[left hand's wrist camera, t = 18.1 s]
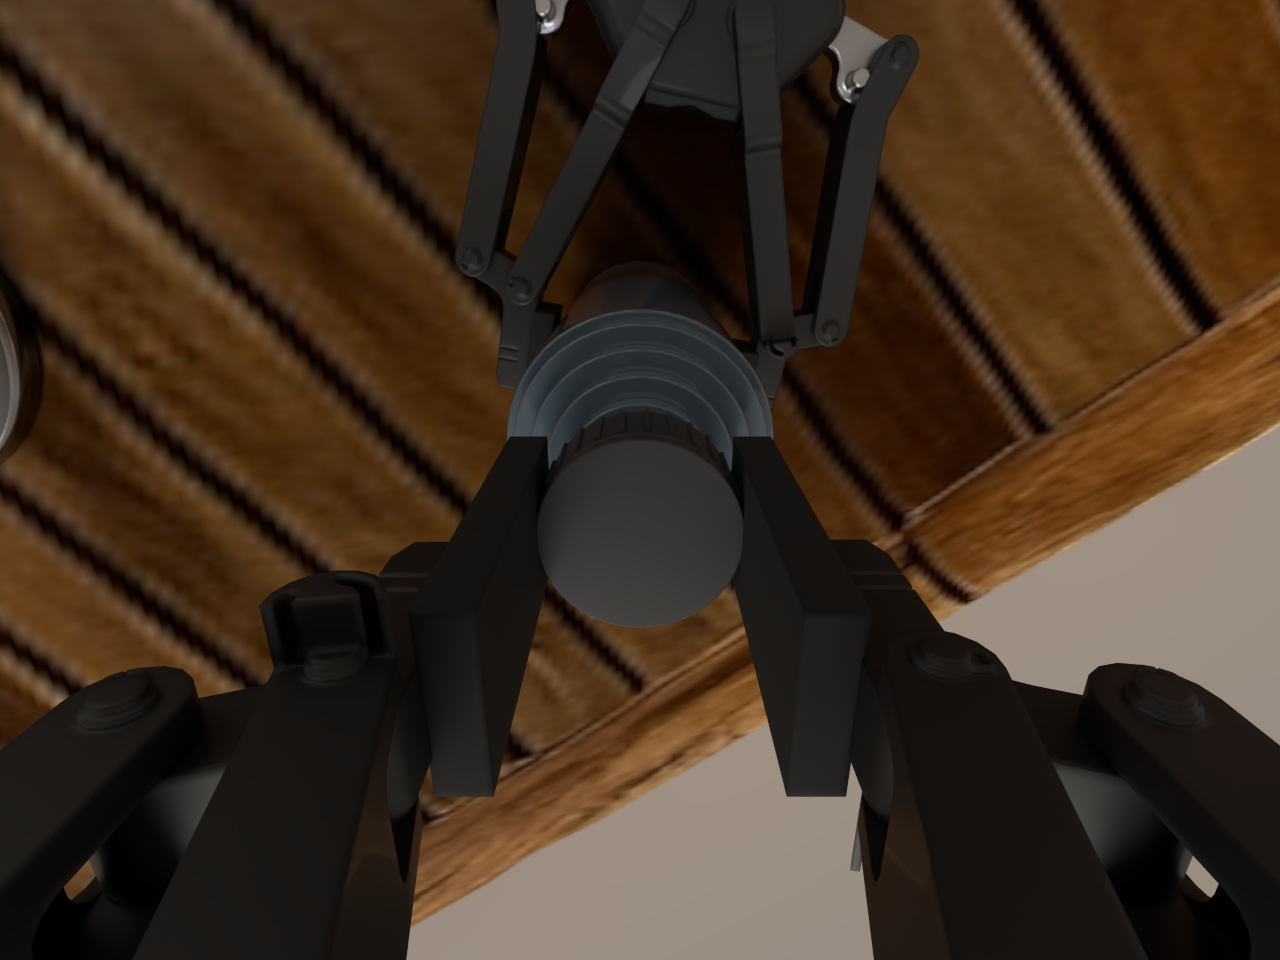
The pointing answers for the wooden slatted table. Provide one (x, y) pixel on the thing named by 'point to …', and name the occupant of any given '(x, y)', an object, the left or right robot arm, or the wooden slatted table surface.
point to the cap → (640, 520)
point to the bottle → (640, 363)
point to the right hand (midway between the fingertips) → (617, 483)
